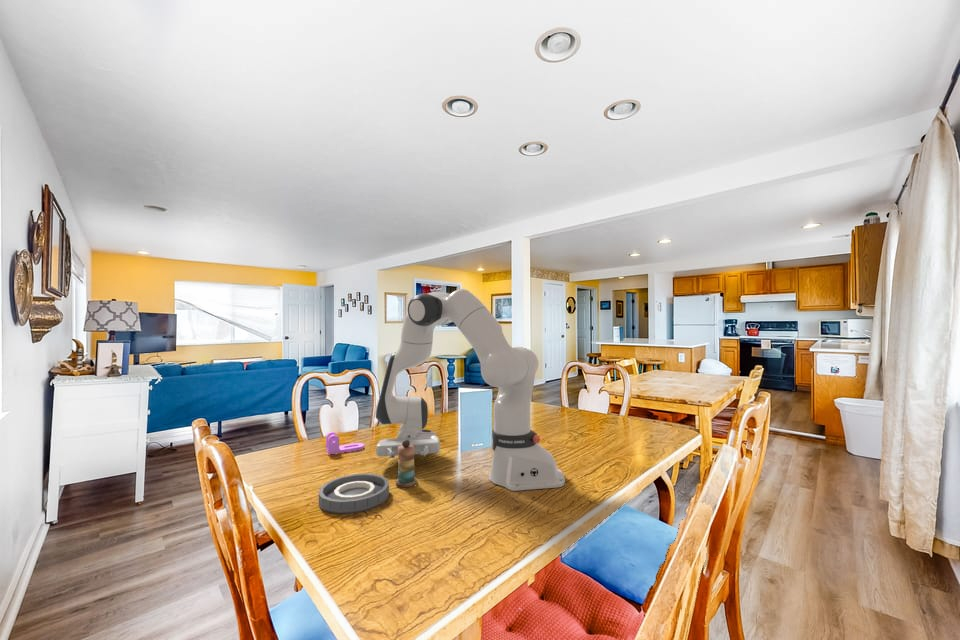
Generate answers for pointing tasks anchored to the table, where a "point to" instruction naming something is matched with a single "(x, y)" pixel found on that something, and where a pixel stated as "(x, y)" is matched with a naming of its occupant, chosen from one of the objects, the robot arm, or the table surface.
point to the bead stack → (406, 466)
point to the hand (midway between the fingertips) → (407, 454)
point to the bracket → (334, 447)
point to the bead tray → (353, 493)
